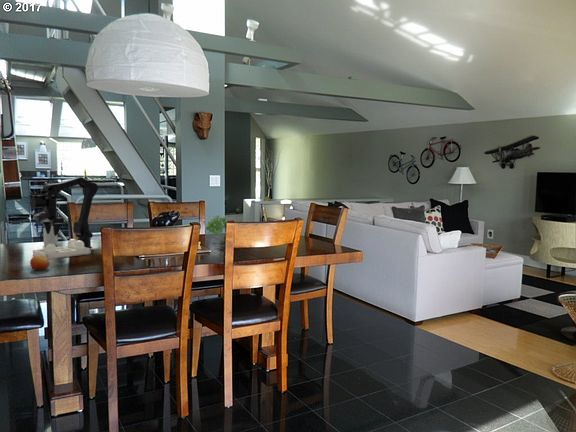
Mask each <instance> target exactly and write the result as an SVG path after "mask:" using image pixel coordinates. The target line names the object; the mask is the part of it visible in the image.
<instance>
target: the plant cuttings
mask: <svg viewBox="0 0 576 432" xmlns="http://www.w3.org/2000/svg"><path fill="white" fill-rule="evenodd" d="M226 222H227V220H226V217H224V216H222V217H220V215H217V214H216V215H214V216H213V217H212V218H210V220H209V221H207V224H206V225H205V229H204V232H206V231H207V232H206V234H207V235H208V234H213V236H215V237H216V238H218V237H220V236H221V234H223V233H224V232H223V231H224V229H225V223H226ZM223 236H224V237H225V236H226V234H223ZM220 238H221V239H223V240H224V238H222V237H220ZM215 240H216V239H215V238H212V240H211V243H215Z"/></svg>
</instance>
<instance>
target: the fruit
mask: <svg viewBox="0 0 576 432" xmlns="http://www.w3.org/2000/svg"><path fill="white" fill-rule="evenodd" d="M50 265H51V264H50V259H47V257H45V256H43V255H35V256H33V257H32V258H31V259H30V267H31V271H39V272H42V271H44V270H47V269H48V268H49V266H50Z"/></svg>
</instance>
